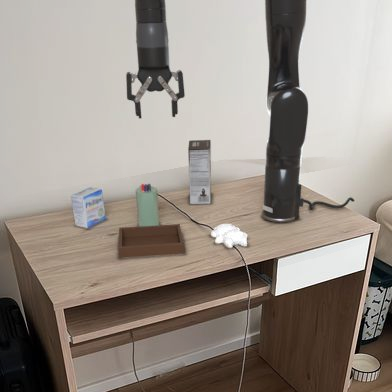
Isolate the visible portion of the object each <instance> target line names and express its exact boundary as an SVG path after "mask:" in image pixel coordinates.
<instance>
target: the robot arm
mask: <svg viewBox="0 0 392 392" xmlns="http://www.w3.org/2000/svg"><path fill="white" fill-rule="evenodd" d="M264 10H265V11H264V14H265V15H264V16H265V17H264V19H265V31H266V32H265V33H266V45H267V52H268V53H267V54H268V75H267V77H268V78H267V91H266V101H265V102H266V104H265V105H266V110H267V113H268V115H269V116H270V118H269V132H268V139H267V141H266V146H265V163H264V164H265V167H264V170H265V171H264V185H263V190H264V191H263V204H262V205H261V206H262V207H261V209H262V218H263V219H264V220H266V221H268V222H271V223H290V222H294V221H295V220H296V221H297V220H299V218H300V208H302V207H304V203H305V204H307V205H308V206H309V210H310V211H313V210H314V206H315V205H322V206H325V207H327V208H332V209H342V208H345V207H346V206H347V205H348V204H349V203H350V202H355V199H354V197H352V196H350V197H348V198H347V199H346V200H345V202H343V203H342V204H331V203H328V202H325V201H321V200H316V201H313V202H311V201H310V200H308V199H305V198H304V197H303V196H302V195H301V194H302V184H301V182H300V180H301V168H302V157H303V148H304V145H305V141H306V137H307V128H308V121H309V120H308V118H309V100H308V97H307V94H306V93H305V92H304V91H303V90H302V89H301V83H300V82H301V81H300V52H301V47H302V43H303V38H304V34H305V27H306V22H307V0H264ZM134 12H135V28H136V29H135V43H136V54H137V65H138V69H137V72H130V71H127V72H126V74H125V77H126V78H125V79H126V80H125V81H126V99H127V100H128V101H131V102H133V103H134V109H135V112H134V113H135V116H136V117H138V119H142V109H141V108H142V106H141V105H142V104H141V99H142V98H143V96H144V95H145V93H146V92H148V93H152V92H153V93H154V92H162V91H164V90H165V91H166V93H167V94H168V96H169V97H170V98H171V101H170V102H171V116H172V118H176V115H178V114H179V110H178V109H179V108H178V101H179V100H180V99H183V98H185V96H186V94H185V93H186V92H185V83H184V73H183V71H182V70H181V69H178V70H175V71H174V70H173V71H171V69H170V68H171V67H170V47H169V46H170V45H169V31H168V25H167V7H166V0H134ZM172 78H173V79H174V80H175V82H177V86H178V92H175V91H174V90H173V88H172V87H171V86H170V81H171V79H172ZM136 79H137V80H138V81H139V83H140V84H141V85H140V87H139V88H138V90H137V92H136V94H133V91H132V90H133V88H132V84H134V83H135V81H136Z"/></svg>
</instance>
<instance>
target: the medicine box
mask: <svg viewBox="0 0 392 392" xmlns="http://www.w3.org/2000/svg"><path fill="white" fill-rule="evenodd" d="M70 200H71V206H72V211H73V218H74V222H75V223H74V224H75V226H76V227H81V228H85V229H89V228H91V227H93V226H95V225H96V224H99V223H100V222H102V221H105V220H106V210H105V202H104V194H103V189H102V188H98V187H94V186H93V187H88V188H85V189H83V190H81V191H78V192H76V193H74V194H72V195H70Z"/></svg>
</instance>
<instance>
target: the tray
mask: <svg viewBox="0 0 392 392" xmlns="http://www.w3.org/2000/svg"><path fill="white" fill-rule="evenodd" d="M184 254H185V242H184V238H183V234H182V227H181V224H180V223H175V224H174V223H173V224H159V225H156V226H139V225H138V226H125V227H119V228H118V255H119V259H121V258H122V259H123V258H137V257H153V256H168V255H184Z"/></svg>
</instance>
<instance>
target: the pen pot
mask: <svg viewBox="0 0 392 392" xmlns="http://www.w3.org/2000/svg"><path fill="white" fill-rule="evenodd" d="M135 200H136V201H135V202H136V209H137V210H136V211H137V224H138V227H139V226H156V225H160V215H159V214H160V212H159V197H158V188H157V187H155V186H152V185H151V184H150V183H145V184H144V183H141V185H140V186H139V187H137V188H135Z"/></svg>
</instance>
